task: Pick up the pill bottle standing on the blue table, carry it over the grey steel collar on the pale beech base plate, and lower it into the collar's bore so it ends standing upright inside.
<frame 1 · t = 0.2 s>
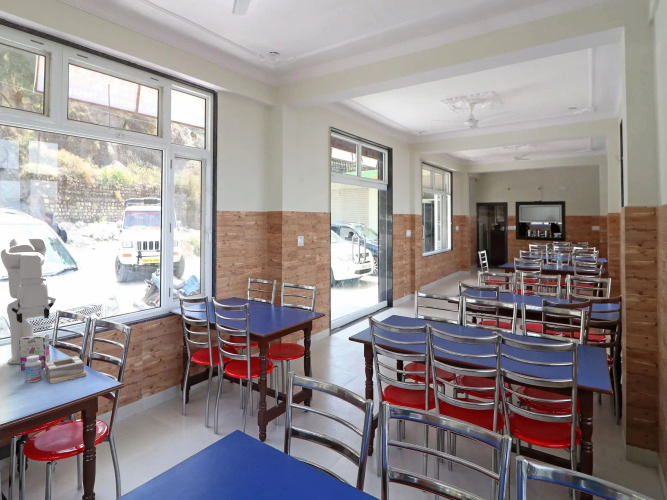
hand: (33, 320, 174), 30 cm above the table, tool pointing down, fingers open, 9 cm apart
collar block: (64, 373, 190), on the table
candy bar box: (35, 368, 197), on the table
pill bottle: (33, 380, 182), on the table
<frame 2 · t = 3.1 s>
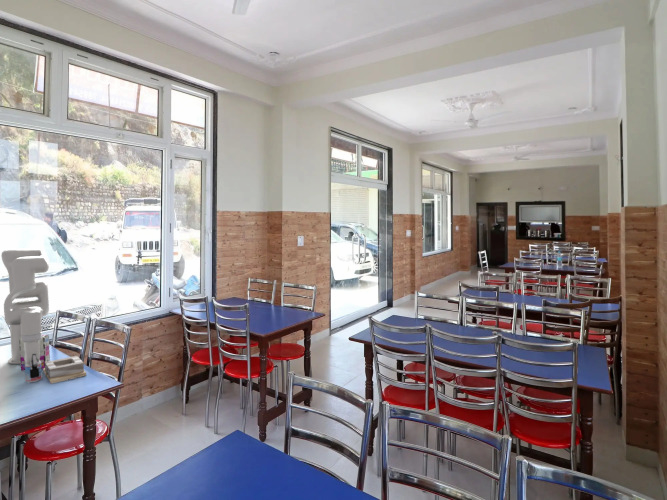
hand: (33, 374, 182), 3 cm above the table, tool pointing down, fingers closed on pill bottle, 6 cm apart
pill bottle: (33, 380, 182), on the table, touching gripper
everything else where it was.
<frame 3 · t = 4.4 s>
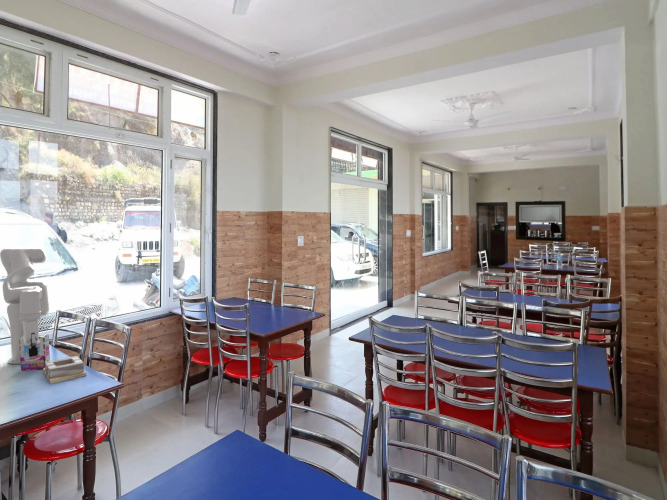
hand: (32, 353, 182), 12 cm above the table, tool pointing down, fingers closed on pill bottle, 6 cm apart
pill bottle: (32, 359, 182), point 10 cm above the table, touching gripper
everything else where it was.
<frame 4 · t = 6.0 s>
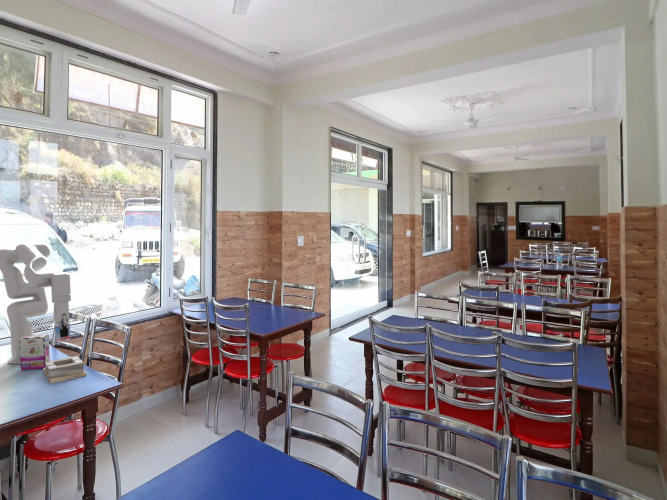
hand: (62, 334, 189), 19 cm above the table, tool pointing down, fingers closed on pill bottle, 6 cm apart
pill bottle: (63, 340, 189), point 16 cm above the table, touching gripper
everything else where it was.
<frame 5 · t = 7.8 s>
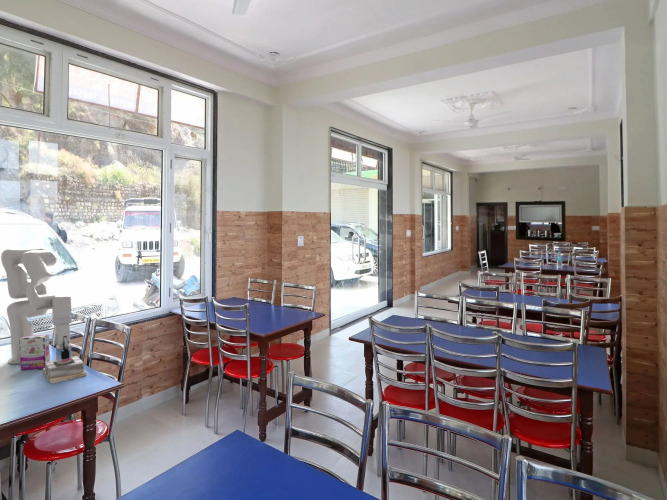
hand: (63, 356, 190), 8 cm above the table, tool pointing down, fingers closed on pill bottle, 6 cm apart
pill bottle: (64, 362, 190), point 6 cm above the table, touching gripper
everything else where it was.
when the fingers open (7 cm above the table, at t = 9.3 s): pill bottle drops 3 cm, resting on collar block.
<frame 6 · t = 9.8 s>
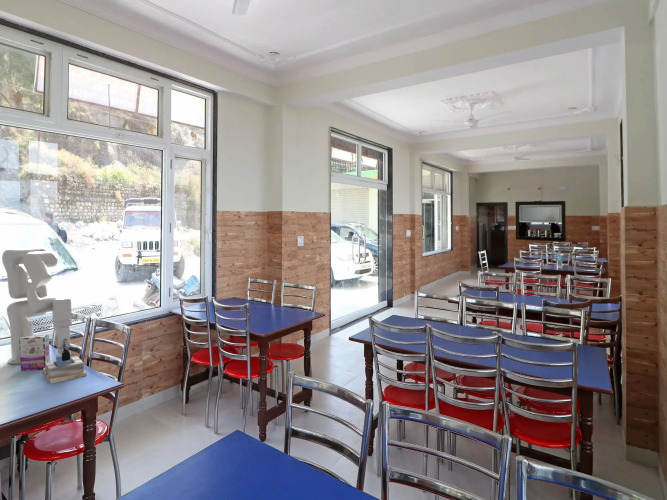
hand: (64, 357, 190), 8 cm above the table, tool pointing down, fingers open, 9 cm apart
pill bottle: (64, 370, 190), point 1 cm above the table, touching collar block
everything else where it was.
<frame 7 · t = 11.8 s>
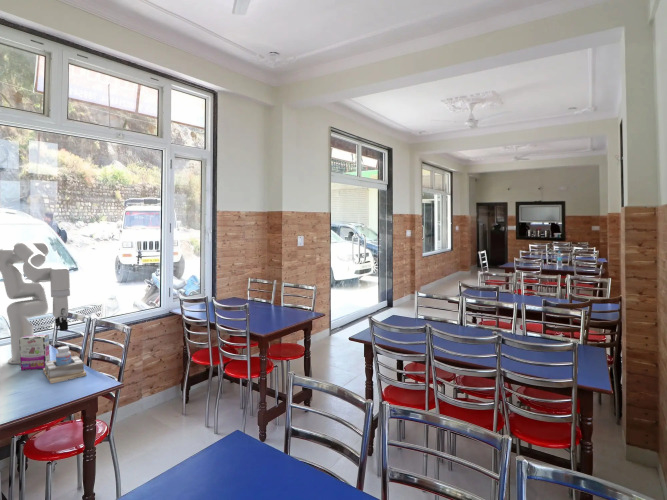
hand: (61, 328, 189), 22 cm above the table, tool pointing down, fingers open, 9 cm apart
nothing on the table moved.
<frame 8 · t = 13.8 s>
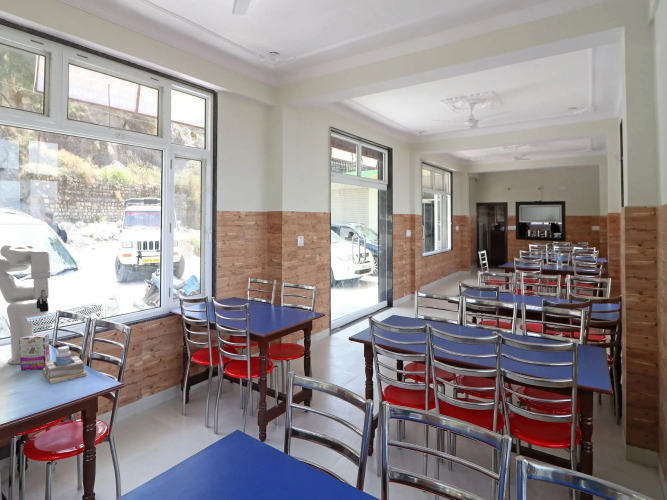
hand: (42, 309, 193), 30 cm above the table, tool pointing down, fingers open, 9 cm apart
nothing on the table moved.
at the end: pill bottle 0.3 cm off-centre on the collar block, point 1.3 cm above the collar block's base; pill bottle tilted 0°; the gripper is holding nothing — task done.
